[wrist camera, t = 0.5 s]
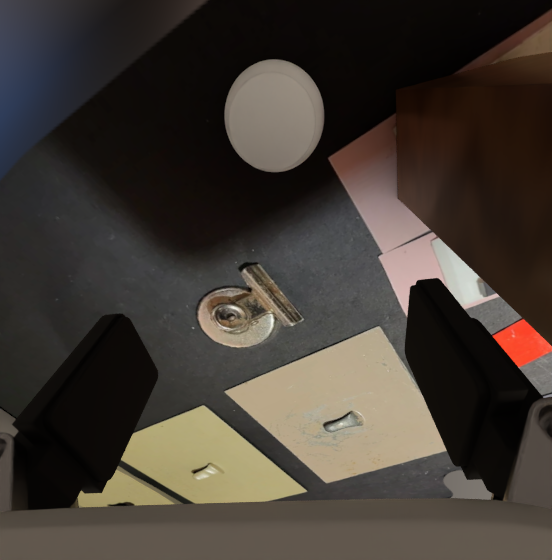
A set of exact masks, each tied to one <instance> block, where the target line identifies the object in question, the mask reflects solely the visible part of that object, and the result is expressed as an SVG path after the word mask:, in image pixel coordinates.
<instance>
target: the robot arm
mask: <svg viewBox="0 0 552 560" xmlns="http://www.w3.org/2000/svg"><path fill="white" fill-rule="evenodd" d="M405 355H406V359H407V361H408V363H409V366H410V368H411V370H412V372H413V375H414V377H415V379H416V382H417V384H418V386H419V388H420V391H421V393H422V395H423V397H424V400H425V402H426V404H427V406H428V409H429V411H430V413H431V416H432V418H433V420H434V422H435V425H436V427H437V429H438V431H439V434H440V436H441V438H442V440H443V443H444V445H445V447H446V450H447V452H448V454H449V456H450V459H451V461H452V462H453V464H454V465H455V466H461V468H462V470H463V472H464V474H465V476H466V478H467V480H473V479H482V480H483V482H484V484H485V486H486V488H487V490H488V491H489V492H491V493H492V497H491V500H480V499H457V498H439V499H354V500H314V501H273V502H239V503H205V504H173V505H142V506H114V507H86V508H79V505H78V498H77V497H78V495H79V493H80V491H81V490H82V491H83V492H84V493H102V491H103V489H104V487H105V485H106V483H107V481H108V480H110V479H111V478H112V477H113V475H114V473H115V471H116V469H117V466H118V464H119V462H120V460H121V458H122V456H123V453H124V451H125V449H126V447H127V445H128V443H129V440H130V438H131V436H132V434H133V432H134V429H135V427H136V425H137V423H138V421H139V419H140V416H141V414H142V412H143V410H144V408H145V405H146V403H147V401H148V399H149V397H150V395H151V392H152V390H153V388H154V386H155V384H156V382H157V379H158V370H157V368H156V366H155V364H154V363H153V361H152V359H151V357H150V355H149V353H148V351H147V350H146V348H145V346H144V344H143V342H142V340H141V339H140V337H139V335H138V333H137V331H136V329H135V327H134V326H133V324H132V322H131V320H130V319H129V318H128V317H125V315H123V314H111V315H104V316H102V317H101V318H100V319H99V321H98V322H97V323H96V324H95V325H94V327H93V328H92V329H91V330H90V331H89V333H88V334H87V335H86V336H85V337H84V339H83V340H82V341H81V342H80V343H79V345H78V346H77V347H76V348H75V349H74V351H73V352H72V353H71V354H70V355H69V357H68V358H67V359H66V360H65V361H64V363H63V364H62V365H61V366H60V367H59V368H58V370H57V371H56V372H55V373H54V374H53V376H52V377H51V378H50V379H49V380H48V382H47V383H46V384H45V385H44V386H43V388H42V389H41V390H40V391H39V392H38V394H37V395H36V396H35V397H34V398H33V400H32V401H31V402H30V403H29V404H28V406H27V407H26V408H25V409H24V410H23V412H22V413H21V414H20V415H19V416H18V418H17V419H16V420H15V421H14V422H13V424H12V425H13V426H14V427H15V428H16V429H17V430H18V433H17V434H16V435H15V436H14V437H13V436H12V435H11V434H9V433H4V432H1V433H0V560H552V397H547V398H543V397H542V395H541V394H540V393H539V392H538V391H537V389H536V388H535V387H534V386H533V385H532V383H531V382H530V381H529V380H528V379H527V377H526V376H525V375H524V374H523V373H522V371H521V370H520V369H519V368H518V367H517V365H516V364H515V363H514V362H513V361H512V359H511V358H510V357H509V356H508V355H507V353H506V352H505V351H504V350H503V349H502V347H501V346H500V345H499V344H498V343H497V341H496V340H495V339H494V338H493V337H492V335H491V334H490V333H489V332H488V331H487V329H486V328H485V327H484V326H483V325H482V323H481V322H479V321H478V320H477V319H475V318H471V317H470V316H469V315H468V314H467V312H466V311H465V310H464V309H463V307H462V306H461V305H460V304H459V302H458V301H457V300H456V299H455V298H454V296H453V295H452V294H451V293H450V291H449V290H448V289H447V288H446V286H445V285H444V284H443V283H442V281H441V280H440V279H438V278H433V279H425V280H418V281H417V282H416V285H413V286H411V287H410V295H409V306H408V317H407V328H406V339H405Z"/></svg>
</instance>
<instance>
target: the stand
mask: <svg viewBox="0 0 552 560" xmlns="http://www.w3.org/2000/svg"><path fill="white" fill-rule="evenodd" d="M396 132H397V176H398V199H399V200H400V201H401V202H402V203H403V204H404V205H405V206H406V207H408V208H409V209H410V210H411V211H412V212H413V213H414V214H415V215H416V216H417V217H418V218H419V219H420V220H421V221H422V222H423V223H424V224H425V225H426V226H427V227H428V228H429V229H430V230H431V231H433V232H434V233H435V234H436V235H437V236H438V237H439V238H440V239H441V240H442V241H443V242H444V243H445V244H446V245H447V246H448V247H449V248H450V249H451V250H452V251H453V252H454V253H455V254H457V255H458V256H459V257H460V258H461V259H462V260H463V261H464V262H465V263H466V264H467V265H468V266H469V267H470V268H471V269H472V270H473V271H474V272H475V273H476V274H477V275H478V276H479V277H480V278H482V279H483V280H484V281H485V282H486V283H487V284H488V285H489V286H490V287H491V288H492V289H493V290H494V291H495V292H496V293H497V294H498V295H499V296H500V297H501V298H502V299H503V300H504V301H506V302H507V303H508V304H509V305H510V306H511V307H512V308H513V309H514V310H515V311H516V312H517V313H518V314H519V315H520V316H521V317H522V318H523V319H524V320H525V321H526V322H527V323H528V324H529V325H531V326H532V327H533V328H534V329H535V330H536V331H537V332H538V333H539V334H540V335H541V336H542V337H543V338H544V339H545V340H546V341H547V342H548V343H549V344H550V345H551V346H552V52H548V53H542V54H536V55H530V56H523V57H518V58H514V59H510V60H506V61H502V62H499V63H495V64H491V65H487V66H484V67H480V68H476V69H472V70H468V71H465V72H461V73H457V74H453V75H450V76H446V77H442V78H438V79H434V80H431V81H427V82H423V83H419V84H416V85H412V86H408V87H404V88H400V89H397V90H396Z"/></svg>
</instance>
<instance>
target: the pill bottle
mask: <svg viewBox="0 0 552 560" xmlns="http://www.w3.org/2000/svg"><path fill="white" fill-rule="evenodd" d="M323 125H324V107H323V102H322V98H321V95H320V92H319V90H318V88H317V86H316V84H315V83H314V81H313V80H312V78H311V77H310V76H309V75H308V74H307V73H306V72H305V71H304V70H302V69H301V68H300V67H298V66H297V65H295V64H293V63H290V62H287V61H284V60H277V59H271V60H264V61H260V62H258V63H256V64H254V65H252V66H250V67H248V68H247V69H246V70H244V71H243V72H242V73H241V74H240V75H239V76H238V78H237V79H236V80H235V82H234V83H233V85H232V87H231V89H230V91H229V94H228V97H227V100H226V105H225V127H226V131H227V134H228V137H229V140H230V142H231V144H232V146H233V148H234V149H235V151H236V152H237V153H238V154H239V156H240V157H241V158H242V159H243V160H245V161H246V162H247V163H249V164H250V165H252V166H253V167H255V168H257V169H260V170H263V171H267V172H282V171H287V170H290V169H292V168H295V167H296V166H298V165H300V164H301V163H303V162H304V161H305V160H306V159H307V158H308V157H309V156H310V155H311V154H312V152H313V151H314V149H315V148H316V146H317V144H318V142H319V140H320V137H321V134H322V131H323Z"/></svg>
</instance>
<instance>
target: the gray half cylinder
mask: <svg viewBox="0 0 552 560" xmlns="http://www.w3.org/2000/svg"><path fill="white" fill-rule="evenodd" d="M15 420H16V419H15V418H14V417H12V416H11V415H9V414H8V413H6V412H5V411H3V410H2V409H1V408H0V433H1V432H4V433H9V434H11V435H12V436H13V437H14V436H15V435H16V434H17V433H18V430H17V429H16V428H15V427H14V426H13V425H12V424H13V422H14V421H15Z"/></svg>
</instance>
